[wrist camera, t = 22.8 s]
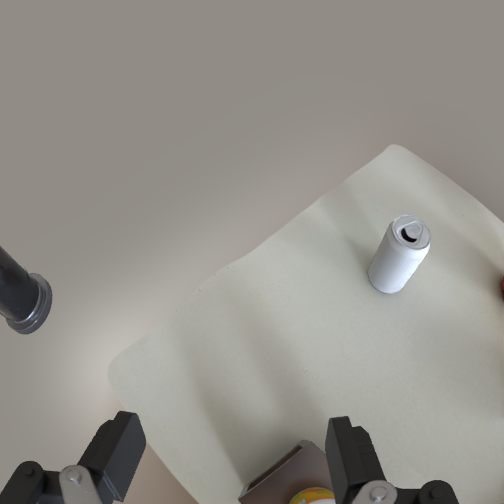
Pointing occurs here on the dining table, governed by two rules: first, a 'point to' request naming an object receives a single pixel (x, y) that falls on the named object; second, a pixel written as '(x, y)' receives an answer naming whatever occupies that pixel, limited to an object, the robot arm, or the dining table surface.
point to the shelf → (289, 476)
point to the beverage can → (399, 253)
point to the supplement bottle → (314, 496)
